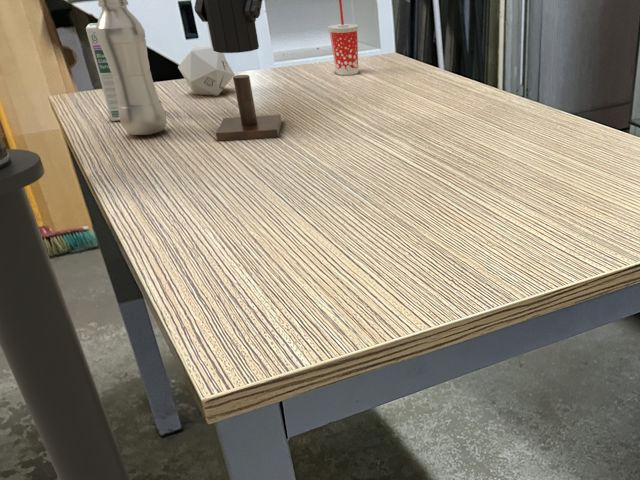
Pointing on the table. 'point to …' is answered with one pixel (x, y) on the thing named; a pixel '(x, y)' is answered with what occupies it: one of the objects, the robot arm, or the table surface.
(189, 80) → the die
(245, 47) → the black hollow cylinder
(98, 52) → the syrup box
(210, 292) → the table surface
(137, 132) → the plastic bottle
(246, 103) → the peg stand
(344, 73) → the beverage cup
